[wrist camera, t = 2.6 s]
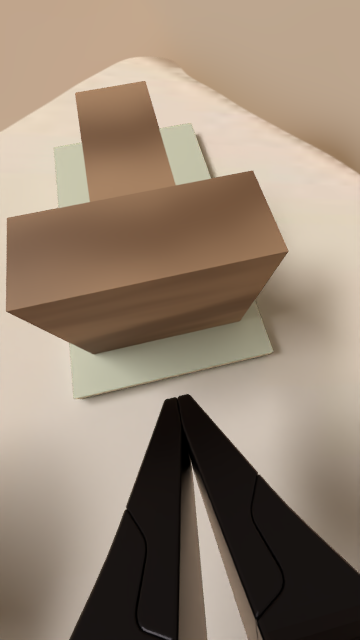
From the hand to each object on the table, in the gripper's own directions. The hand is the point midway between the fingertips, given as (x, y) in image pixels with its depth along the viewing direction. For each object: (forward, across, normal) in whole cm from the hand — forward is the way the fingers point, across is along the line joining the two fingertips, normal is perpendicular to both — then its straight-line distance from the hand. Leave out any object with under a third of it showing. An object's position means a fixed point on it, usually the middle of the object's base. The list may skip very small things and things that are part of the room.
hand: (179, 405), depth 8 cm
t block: (+12, 0, -2) cm, 12 cm away
